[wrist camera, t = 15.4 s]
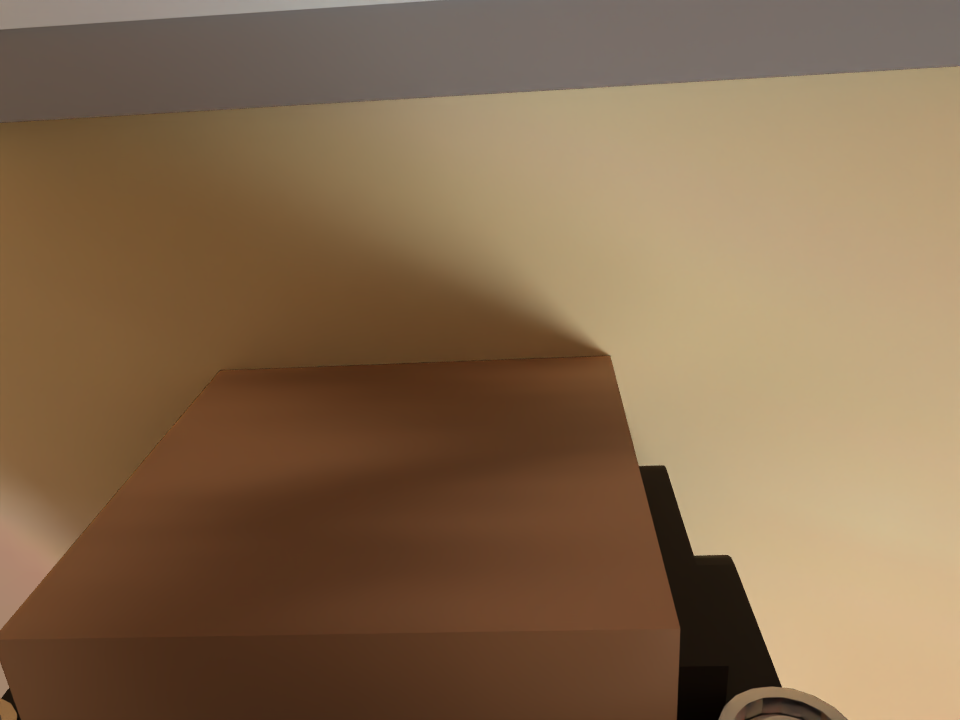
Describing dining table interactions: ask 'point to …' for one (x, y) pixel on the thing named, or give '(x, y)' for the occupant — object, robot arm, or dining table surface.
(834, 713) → the robot arm
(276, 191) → the dining table surface
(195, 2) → the blueprint board
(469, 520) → the walnut cube
